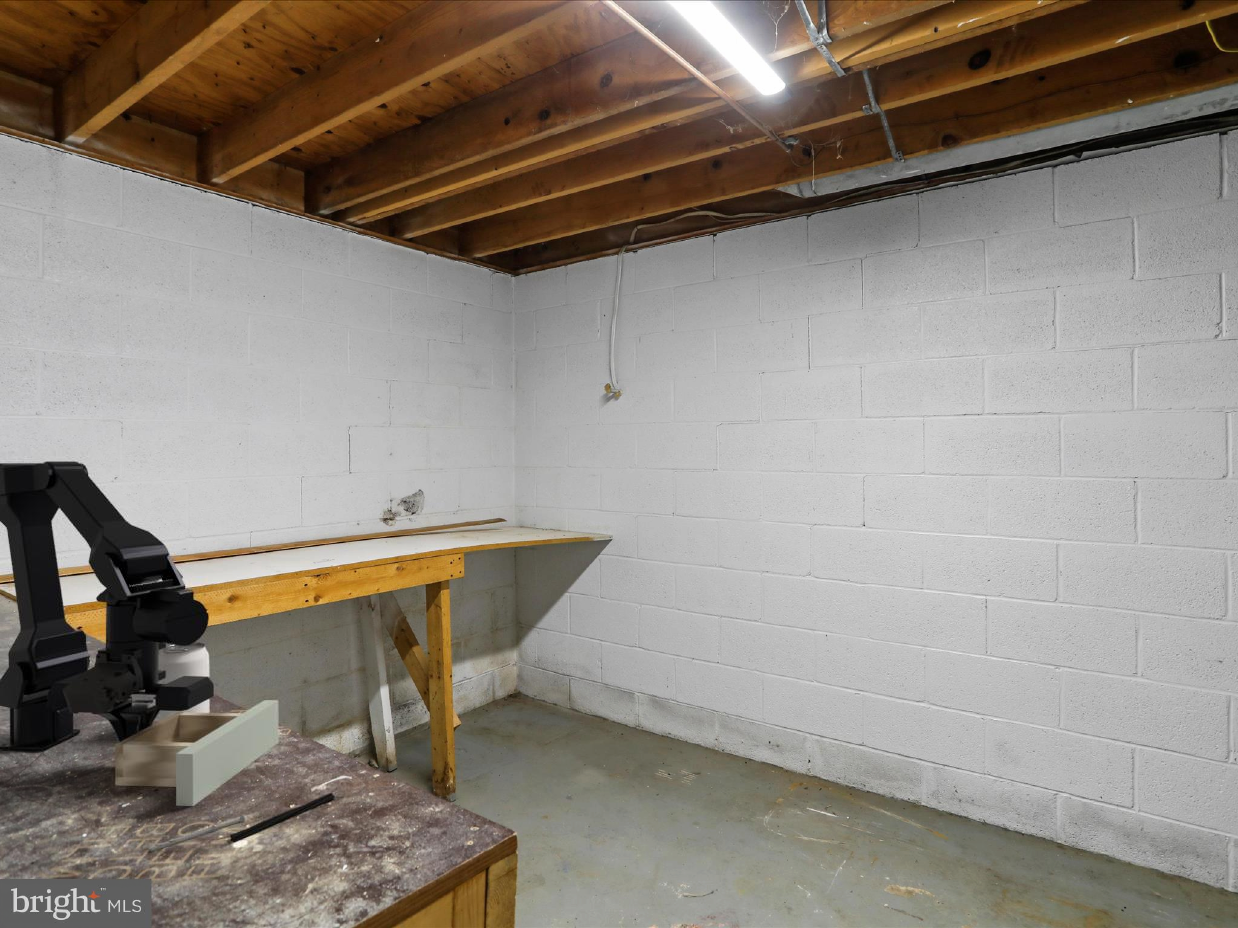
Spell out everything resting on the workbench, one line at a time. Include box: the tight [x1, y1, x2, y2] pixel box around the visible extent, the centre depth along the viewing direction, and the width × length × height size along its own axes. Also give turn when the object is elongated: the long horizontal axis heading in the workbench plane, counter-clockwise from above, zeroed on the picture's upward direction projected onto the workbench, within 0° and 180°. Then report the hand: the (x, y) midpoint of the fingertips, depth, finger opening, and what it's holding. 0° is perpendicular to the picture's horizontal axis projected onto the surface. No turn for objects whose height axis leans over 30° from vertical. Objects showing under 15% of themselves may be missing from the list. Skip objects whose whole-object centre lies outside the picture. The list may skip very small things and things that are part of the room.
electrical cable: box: [229, 790, 341, 843], centre depth 78 cm, size 12×1×1 cm, turn 144°
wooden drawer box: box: [114, 712, 244, 788], centre depth 90 cm, size 11×11×5 cm
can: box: [157, 641, 210, 723], centre depth 104 cm, size 6×6×12 cm
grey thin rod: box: [150, 813, 246, 853], centre depth 74 cm, size 1×9×1 cm, turn 135°
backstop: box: [175, 699, 280, 807], centre depth 89 cm, size 2×18×6 cm, turn 177°
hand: (131, 756), depth 91 cm, fingers closed
